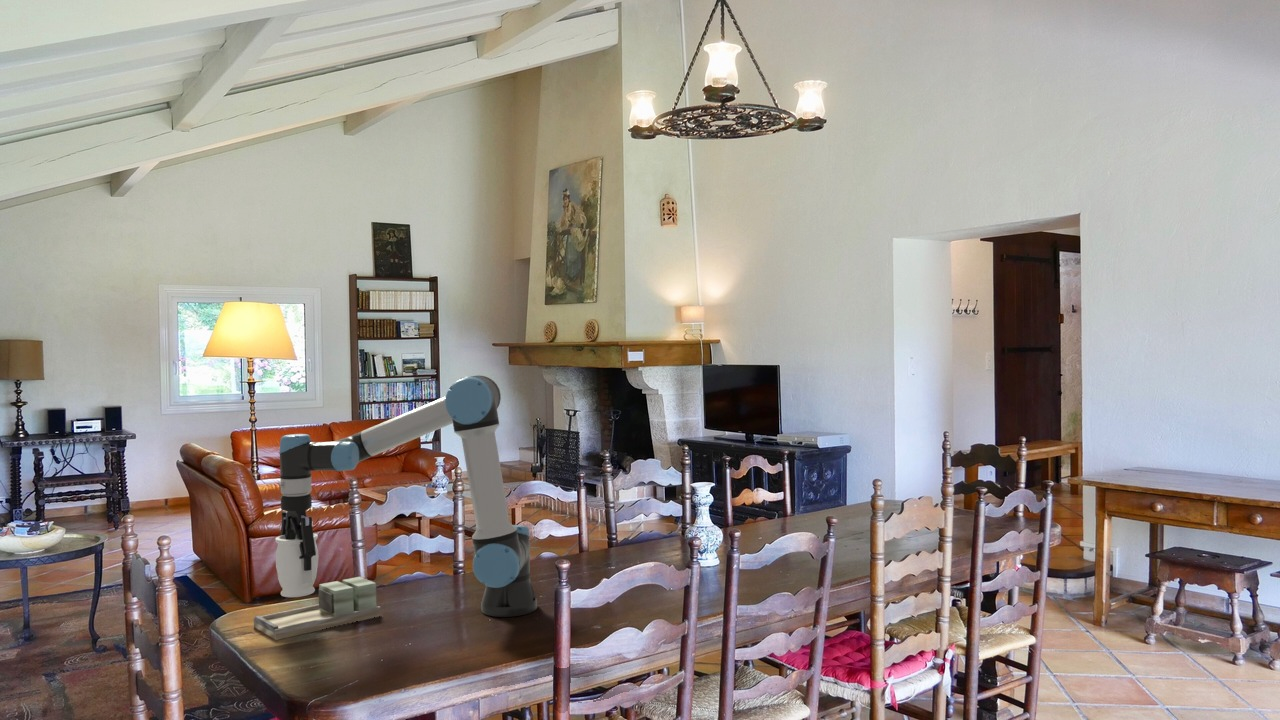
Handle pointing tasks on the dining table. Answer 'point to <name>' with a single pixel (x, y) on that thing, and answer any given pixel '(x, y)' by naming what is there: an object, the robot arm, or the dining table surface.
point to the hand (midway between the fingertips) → (297, 579)
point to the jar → (293, 567)
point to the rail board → (325, 610)
